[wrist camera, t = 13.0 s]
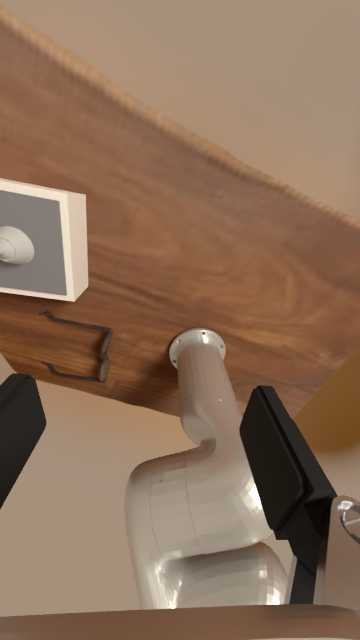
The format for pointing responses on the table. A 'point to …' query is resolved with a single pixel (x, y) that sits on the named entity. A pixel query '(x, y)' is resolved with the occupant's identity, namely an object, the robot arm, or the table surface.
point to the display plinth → (46, 241)
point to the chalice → (15, 246)
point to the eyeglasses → (105, 362)
